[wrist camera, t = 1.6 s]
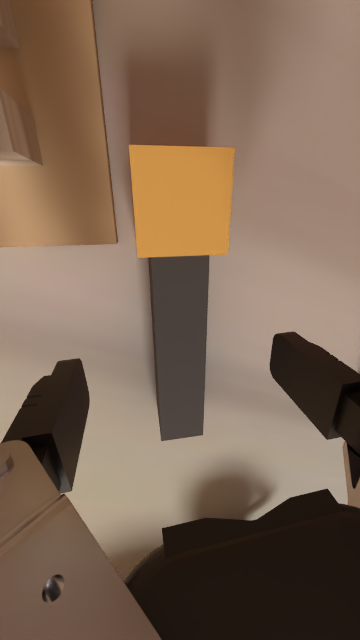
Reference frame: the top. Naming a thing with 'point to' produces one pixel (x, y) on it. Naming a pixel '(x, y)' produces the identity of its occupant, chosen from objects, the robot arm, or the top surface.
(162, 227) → the grey and orange bar
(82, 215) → the board
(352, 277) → the top surface
